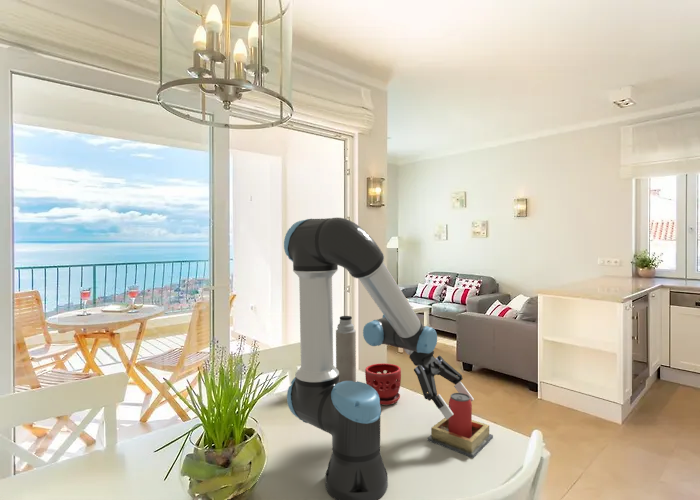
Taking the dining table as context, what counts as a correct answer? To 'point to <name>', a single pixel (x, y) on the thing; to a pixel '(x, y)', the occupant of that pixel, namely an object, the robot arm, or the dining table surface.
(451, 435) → the frame
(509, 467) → the dining table surface
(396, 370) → the plant pot
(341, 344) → the thermos bottle
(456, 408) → the beer can
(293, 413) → the robot arm
